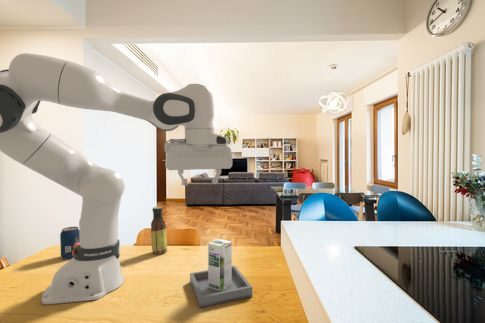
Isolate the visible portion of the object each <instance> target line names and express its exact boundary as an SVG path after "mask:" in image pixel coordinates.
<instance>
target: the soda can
mask: <svg viewBox="0 0 485 323" xmlns="http://www.w3.org/2000/svg"><path fill="white" fill-rule="evenodd" d="M59 240H60V256H61V258H62V259H63V260H71V259H72V258H73V256H72V250H73V247H74V245H75V244H76V243H80V236H79V227H78V226H69V227H65V228H62V229H61V232H60V234H59Z"/></svg>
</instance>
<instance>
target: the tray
mask: <svg viewBox="0 0 485 323" xmlns="http://www.w3.org/2000/svg"><path fill="white" fill-rule="evenodd" d="M189 282H190V285H191V289H192V291H193V293H194V296H195V299H196V301H197V303H198V306H199V309H204V308H209V307H212V306H217V305H222V304H226V303H231V302H236V301H239V300H244V299H248V298H249V299H250V298H252V297H253V286H252V285H251V283H249V281H248V280H247V278H245V277H244V275H243V274H242V273H241V271H240V270H239V269H238V268H237V267H236V265H232V284H231V285H230V286H229V287H228V288H227V289H226V290H225V291H222V292H220V291H217V290H214V289H211V288H208V269H206V270H201V271H196V272H195V271H194V272H190V273H189Z"/></svg>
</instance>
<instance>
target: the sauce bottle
mask: <svg viewBox="0 0 485 323" xmlns="http://www.w3.org/2000/svg"><path fill="white" fill-rule="evenodd" d="M152 215H153V216H152V218H153V219H152V221H151V222H150V223H151V224H150V228H151V230H150V232H151V235H150V236H151V251H152V254H154V255H162V254H165V253H166V252H167V250H168V243H167V242H168V240H167V239H168V238H167V225H166V222H165V221H164V218H163V207H162V206H155V207H152Z"/></svg>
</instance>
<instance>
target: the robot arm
mask: <svg viewBox="0 0 485 323" xmlns="http://www.w3.org/2000/svg"><path fill="white" fill-rule="evenodd" d="M41 102H49V103H54V104H57V105H62V106H66V107H71V108H76V109H83V110H91V111H92V110H93V111H103V112H110V113H111V112H113V113H117V114H121V115H125V116H128V117H133V118H136V119H140V120H144V121H146V122H148V123H149V124H151V125H152V126H154V127H155V128H157V129H158V130H161V131H163V132H172V131H174V130H176V129H177V128H178V127H179V126H183V127H184V138H169V140H166V141H165V143H164V145H163V146H164V147H163V148H164V153H165V155H166V156H165V168H166V169H167V170H168V171H177V174H178V176H179V178H180V179H181V185H182V186H188V178H185V177H184V175H183V174H184V171H185V170H186V171H187V170H190V171H191V170H214V172H215V176H214V177H211V183H212V184H214V185H216V184H219V177H220V176H221V174H222V169H224V170H226V169H231V168H232V167H233V154H232V149H231V147H230V146H229V144H230V139H229V138H228V137H226V136H223V135H220V134H217V133H215V127H214V122H213V121H214V120H213V119H214V118H215V117H214V116H215V111H214V110H215V107H214V98H213V93H212V91H211V89H210V88H208V87H207V86H206V85H203V84H200V83H188V84H187V85H186V86H184V87H183V88H181V89H180V88H179V89H178V90H175V91H171V92H165V93H162V94H160V95H158V96H157V97H156V99H155V100H148V99H146V98H143V97H139V96H135V95H132V94H129V93H126V92H123V91H121V90H120V89H118V88H116V87H115V86H114V85H112V84H111V83H110V82H109V81H108V80H107V79H105V77H104V76H102V75H101V73H99V72H96V71H95V70H92V69H90V68H89V67H87V66H84V65H81V64H78V63H76V62H72V61H68V60H65V59H62V58H57V57H52V56H48V55H43V54H36V53H25V52H24V53H19V54H17V55H16V56H14V57H13V59H11V61H10V63H9V65H8V69H1V70H0V152H2V153H3V154H5V155H6V156H7V157H9V158H10V159H12V160H13V161H15V162H17V163H19V164H21V165H23V166H25V167H26V168H28V169H30V170H32V171H34V172H35V173H37V174H38V175H39V174H40V175H42V176H43V177H45V178H47V179H48V180H50V181H53V182H54V183H56V184H58V185H60V186H62V187H63V188H65V189H67V190H69V191H71V192H73V193H75V195H78V196H81V197H82V199H81V200H82V204H81V212H80V218H79V221H78V226H79V227H78V229H79V236H80V243H76V244H75V245H74V247H73V250H72V256H73V258H72V259H68V260H67V262H66V263H64V264H63V265H61V267H60V268H58V269H57V271H56V272H55V273H54V274H53V278H52V279H51V283H50V284H49V286H47V287H46V289H45V290H44V291H43V293H42V295H41V303H42V304H43V305H54V304H65V303H75V302H86V301H95V300H96V301H97V300H99V299H100V298H103V297H104V296H105V295H106V294H108V293H111V292H113V291H114V290H116V289H118V288H120V287H121V285H123V283H124V282H125V277H124V274H123V272H122V268H121V263H120V256H121V243H120V239H119V229H118V228H119V225H118V224H119V223H118V222H119V220H118V219H119V211H120V205H121V199H122V196H123V194H124V192H125V187H126V186H125V182H124V179H123V177H121V175H120V174H119V173H118V172H116V171H115V170H114V169H110V168H104V167H101V166H99V165H97V164H96V163H95V162H93V161H91V159H89V158H87V157H86V156H84V155H83V153H81V152H80V151H78V149H76V148H74V147H73V146H71V145H69V144H68V143H66V142H65V141H64V140H62V139H60V138H59V137H58V136H56V135H54V134H53V133H51V132H50V131H48V130H46V129H44V128H42V126H40V125H38V124H37V123H36V122H35V121H34V119H33V116H32V114H36V113H37V111H38V108H39V106H40V104H41Z"/></svg>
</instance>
